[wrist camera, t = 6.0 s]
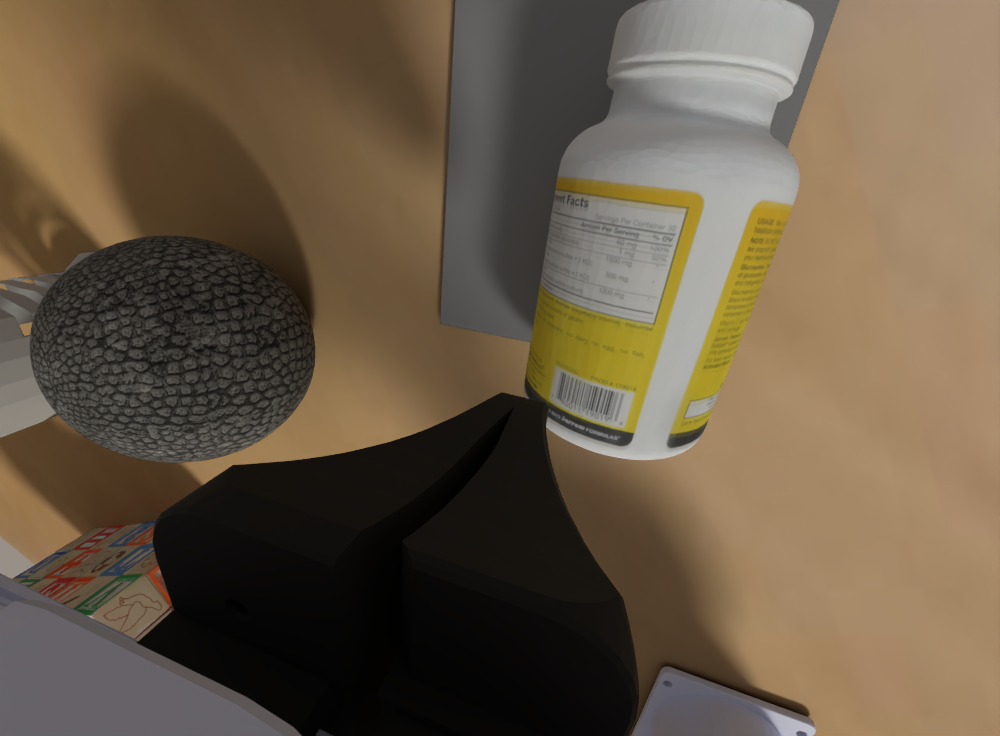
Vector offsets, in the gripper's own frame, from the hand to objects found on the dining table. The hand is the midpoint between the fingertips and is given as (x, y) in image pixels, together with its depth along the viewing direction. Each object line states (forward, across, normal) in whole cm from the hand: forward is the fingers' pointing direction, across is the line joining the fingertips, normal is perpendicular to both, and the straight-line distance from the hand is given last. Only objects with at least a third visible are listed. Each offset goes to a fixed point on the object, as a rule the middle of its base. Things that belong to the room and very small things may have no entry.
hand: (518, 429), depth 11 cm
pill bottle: (+5, -2, +2) cm, 6 cm away
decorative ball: (+9, +16, +2) cm, 18 cm away
